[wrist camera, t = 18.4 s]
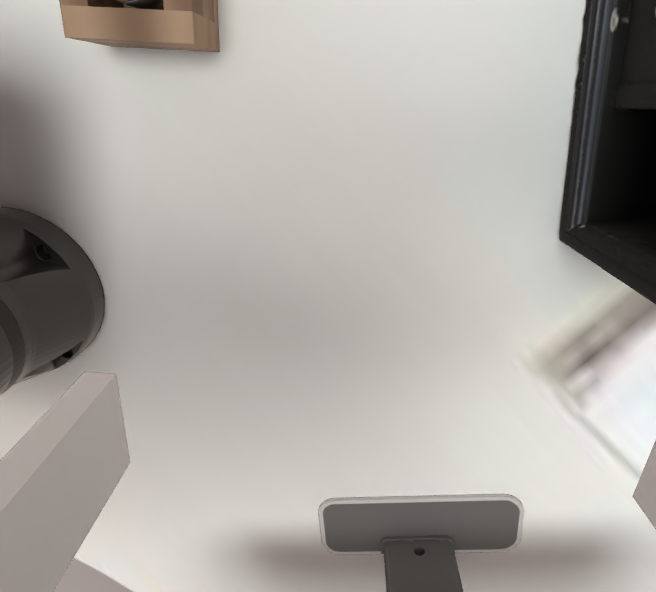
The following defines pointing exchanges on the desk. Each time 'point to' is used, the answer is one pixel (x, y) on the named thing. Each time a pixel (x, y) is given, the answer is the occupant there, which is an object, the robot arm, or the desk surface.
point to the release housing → (143, 24)
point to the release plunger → (144, 4)
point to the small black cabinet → (615, 144)
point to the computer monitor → (421, 534)
